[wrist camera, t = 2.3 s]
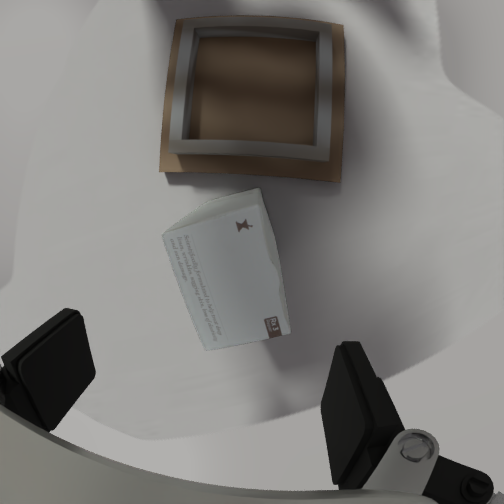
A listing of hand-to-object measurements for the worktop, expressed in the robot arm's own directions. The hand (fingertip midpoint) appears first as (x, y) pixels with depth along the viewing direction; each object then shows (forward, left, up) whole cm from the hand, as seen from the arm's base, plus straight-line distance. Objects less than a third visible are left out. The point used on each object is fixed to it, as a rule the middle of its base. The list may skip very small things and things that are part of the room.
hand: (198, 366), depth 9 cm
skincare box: (0, 0, -22) cm, 22 cm away
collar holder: (-15, 0, -22) cm, 26 cm away
